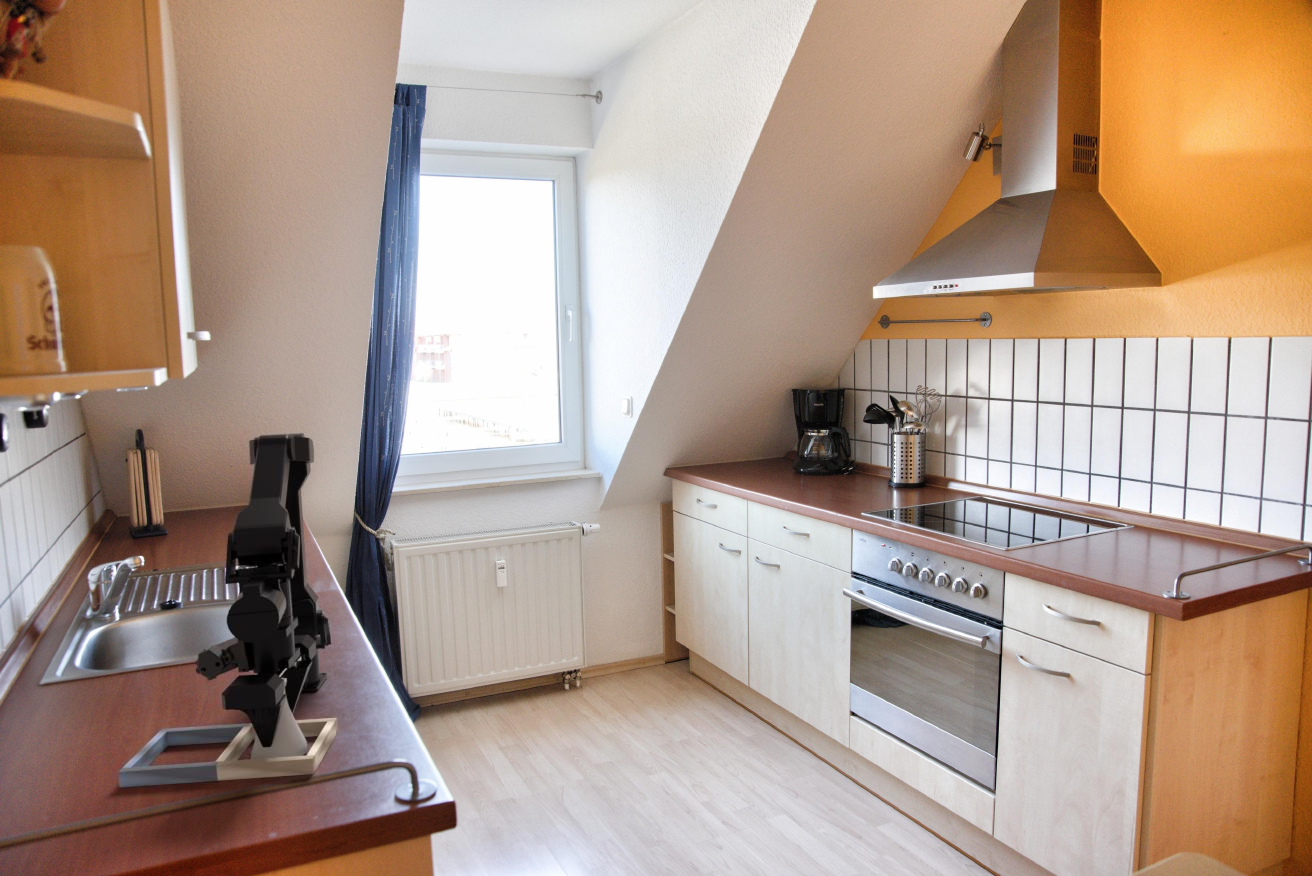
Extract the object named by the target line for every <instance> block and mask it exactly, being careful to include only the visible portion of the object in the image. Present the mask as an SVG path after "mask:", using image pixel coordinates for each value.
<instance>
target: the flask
mask: <svg viewBox="0 0 1312 876" xmlns="http://www.w3.org/2000/svg"><path fill="white" fill-rule="evenodd" d="M282 679H283V680H284V693H283V694H285V686H286V682H287V679H286V678H282ZM296 720H297V719H296V718H295V717H294V713H293V714H292V712H291V710H290V708H289V705H288V701H287V698H286V699H285V703H284V706H283V710H282V713H281V717H280V720H279V724H278V728H277V731H276V735H275V738H274V741H273V744H272V746H271V747H265V748H264V747H262V745H261V743H260V741H259V738H258V736H257V735H256V739H255V740H254V743H253V745H252V749H251V753H250V758H249V759H263V758H277V757H292V756H305V754H308V741H307V739H306V737H304V735H303V733H302V732H301V730H300V728H299V726H298V724H297V722H296Z"/></svg>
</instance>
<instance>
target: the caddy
mask: <svg viewBox="0 0 1312 876" xmlns="http://www.w3.org/2000/svg"><path fill="white" fill-rule="evenodd" d="M295 720H296V722H297V724H298V726H299V728H300V730H301V732H302V733H303V735H304V737H305V738H306V737H307V738H308V737H317V738H316V740H314V743H313V745H312V746H311V747H310V749H309V750H308V751H307V753H306V755H303V756H292V757H277V758H263V759H250V758H248V759H240V758H241V756H242V755H243V753H244V752H245V751H246V750H247V748H249V746H250V745H251V743H252V742H253V741H255V739H256V735H257V734H256V732H255V730H254V728H253V725H252V723H251V722H249V723H247V722H246V723H234V724H219V725H204V726H203V725H202V726H189V727H173V728H172V727H171V728H161V729H160V730H159V732H157V734H155V736H153V738H151V739H150V740H149V741H148V742H147V743H146V744H145V745H144V746H143V747H142V748H141V749H140V750H139V751H138V752H136V754H135V755H134V756H133V757H131V758H130V760H129V761H127V763H125V765H124V766H123V767H121V769H119V770H118V772H117V775H118V785H119V788H131V787H143V786H144V787H145V786H147V787H148V786H158V785H159V786H160V785H161V786H162V785H173V784H174V785H175V784H187V783H188V784H191V783H204V782H216V781H229V780H230V781H231V780H246V779H261V778H275V777H288V776H304V775H314V774H315V773H316V770H317V769H318V768H319V765H320V764H321V762H322V760H323V759H324V756H325V755H326V754H327V751H328V750H329V748H330V747H331V745H332V743H333V741H334V740H335V738H336V736H337V734H338V732H339V729H338V728H339V726H338V717H328V718H325V717H324V718H312V719H295ZM215 743H216V744H218V743H229V744H228V745H227V747H226V748H225V750H224V751H223V752H222V753H221V754H220V755H219V757H218V758H217V759H216V760H215V761H206V762H193V763H175V764H161V765H160V764H159V765H151V764H152V763H153V762H154V761H155V760H156V759H157V758H159V756H160V755H161V754H162V753H163V752H164V750H166V748H167V747H170V746H171V747H173V746H184V745H185V746H186V745H201V744H202V745H203V744H215Z"/></svg>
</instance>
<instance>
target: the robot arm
mask: <svg viewBox="0 0 1312 876" xmlns="http://www.w3.org/2000/svg"><path fill="white" fill-rule="evenodd" d="M248 443H249V444H248V447H249V465H250V466H254V467H253V475H252V481H251V487H250V493H249V501H248V505H247V506H246V507H245V508H243V509H242V510H240V511H239V512H238V513H237V514H236V517H235V519H234V524H233V527H232V531H229V532H228V535H227V540H226V541H227V545H226V560H225V577H224V578H225V579H224V582H225V583H224V584H225V585H230V584H231V585H232V584H238V588H239V589H238V590H239V591H238V595H237V597H236V599H235V600H234V602H233V603H232V605H231V606H230V608H229V610H228V612H227V615H226V626H227V629H228V631H229V632H230V633H231V635H232V636H233V637H232V638H229V639H227V640H225V641H222V642H220V643H217V644H215V645H212V646H210V647H209V648H207V649H205V648H204V649H202V650H201V651H200V652H199V653H198V654H197V658H196V660H195V662H194V663H195V664H196V668H195V672H196V674H197V675H198V674H199V675H201V676H202V677H204V678H206V681H208V682H209V681H212V680H214V679H217V677H218V676H220V675H223V674H225V673H228V672H230V671H232V670H235V669H237V672H238V674H239V673H249V671H250V672H251V671H252V673H254V674H242V675H238V676H236V678H235V679H234V680H233V681H232V682H231V683H230V684H229V685H228V686H227V687H226V689H225V690H224V691H222V692H221V703H222V705H221V706H222V709H223V710H225V711H231V710H232V711H241V712H243V713H244V714H246V716H247V717H248V719H249V721H250V723H252V725H253V728H254V730H255V732H256V734H257V736H258V738H259V741H260V743H261V745H262V747H264V748H265V747H271V746H272V744H273V741H274V738H275V735H276V731H277V728H278V724H279V720H280V717H281V713H282V710H283V706H284V703H285V699H286V698H287V701H288V705H289V708H290V710H291V712H292V714H293V715H294V712H295V711H296V706H297V704H298V700H299V698H300V695H301V693H306V692H308V693H309V692H316V691H319V689H320V687H321V686H322V684H323V683H324V681H325V680H326V678H327V677H328V673H327V672H321V670H320V669H321V668H320V667H321V665H320V655H319V654H320V653H319V652H320V651H319V650H320V649H321V650H324V649H325V650H326V647H328V646H331V645H332V632H331V626H330V621H329V618H328V617H327V616H326V614H325V611H324V609H320V608H321V607H320V598H319V596H318V595H317V593H316V592H315V591H314V590H313V588H312V587H311V585H310V584H309V583H308V577H307V564H306V563H307V562H306V548H305V547H306V546H305V545H306V544H305V532H304V530H305V529H304V518H303V516H304V515H303V502H302V501H303V500H302V489H303V487H304V485H305V483H306V481H307V479H308V478H309V476H310V474H311V464H313V463H314V461H315V451H314V450H315V448H314V442H313V439H312V438H310V437H306V436H305V434H304V433H303V432H301V433H300V432H298V433H281V434H280V433H279V434H277V433H276V434H261V435H259V436H255V437H254V439H251V440H248ZM236 564H237V566H238V567H239V568H236ZM282 678H286V679H287V682H286V686H285V694H283V693H284V680H283V679H282Z"/></svg>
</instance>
